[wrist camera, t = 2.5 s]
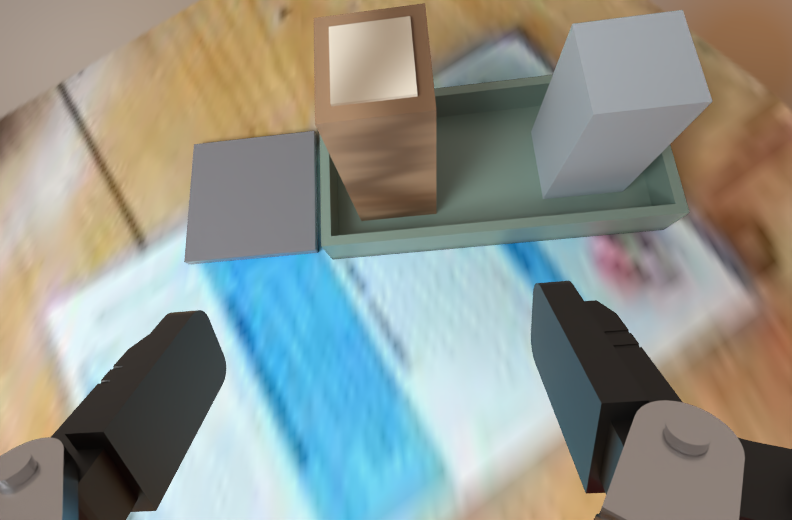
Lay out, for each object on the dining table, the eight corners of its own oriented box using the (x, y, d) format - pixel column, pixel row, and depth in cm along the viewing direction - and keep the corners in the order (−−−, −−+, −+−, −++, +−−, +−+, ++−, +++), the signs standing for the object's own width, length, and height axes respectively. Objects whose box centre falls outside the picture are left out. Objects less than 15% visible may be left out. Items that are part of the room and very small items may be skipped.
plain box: (543, 199, 27) (593, 114, 18) (531, 132, 28) (572, 23, 20) (622, 191, 26) (712, 101, 18) (606, 123, 28) (682, 9, 19)
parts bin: (332, 259, 28) (321, 246, 25) (329, 126, 30) (319, 102, 28) (663, 229, 26) (689, 212, 23) (627, 92, 29) (647, 63, 26)
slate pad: (189, 264, 28) (184, 261, 28) (198, 148, 31) (194, 144, 30) (317, 252, 28) (315, 250, 27) (316, 135, 30) (314, 130, 30)
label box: (361, 221, 28) (314, 122, 17) (358, 146, 29) (313, 12, 19) (436, 213, 27) (436, 107, 17) (429, 138, 29) (424, -3, 18)
